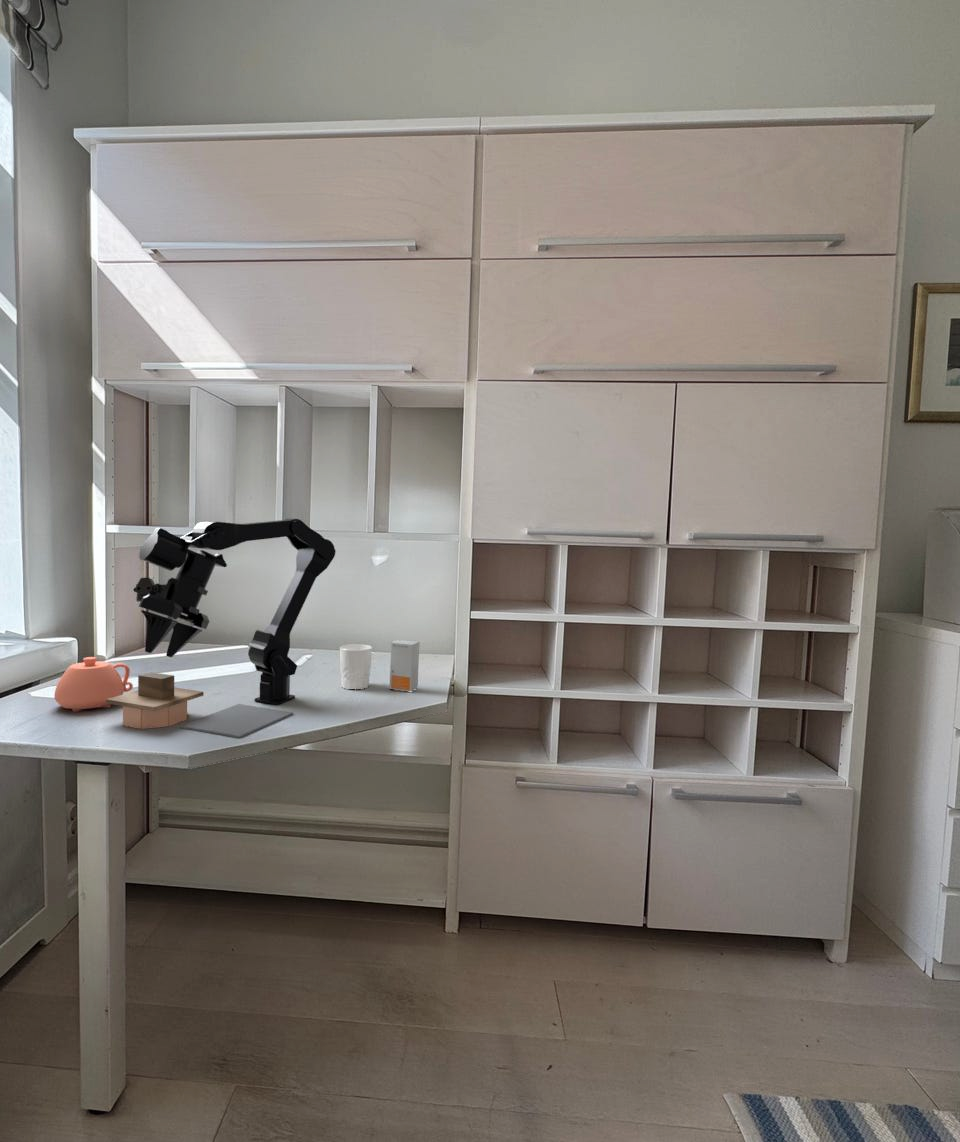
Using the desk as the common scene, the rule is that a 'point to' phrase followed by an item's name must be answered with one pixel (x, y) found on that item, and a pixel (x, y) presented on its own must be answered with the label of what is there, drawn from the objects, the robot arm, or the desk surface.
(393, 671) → the skincare box
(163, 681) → the cover
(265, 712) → the mat
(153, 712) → the bowl
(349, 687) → the white cup
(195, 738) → the desk surface
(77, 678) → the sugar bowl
